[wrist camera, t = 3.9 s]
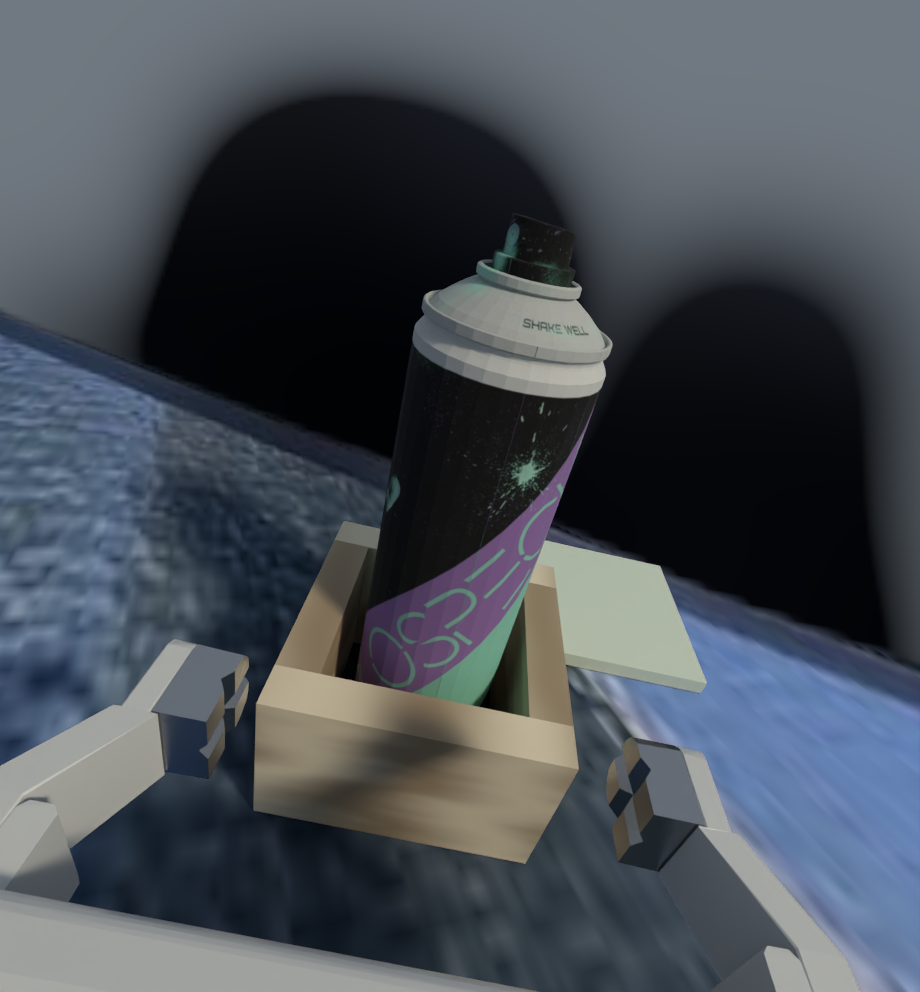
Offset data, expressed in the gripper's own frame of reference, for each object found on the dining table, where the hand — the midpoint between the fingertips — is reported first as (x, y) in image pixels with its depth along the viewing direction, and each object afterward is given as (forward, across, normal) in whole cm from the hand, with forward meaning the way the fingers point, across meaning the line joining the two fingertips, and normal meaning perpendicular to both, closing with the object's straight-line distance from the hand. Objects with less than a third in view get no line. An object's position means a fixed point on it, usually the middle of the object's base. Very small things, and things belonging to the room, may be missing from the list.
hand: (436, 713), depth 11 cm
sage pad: (+18, -10, +11) cm, 23 cm away
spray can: (+8, 0, +11) cm, 14 cm away
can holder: (+8, 0, +11) cm, 13 cm away
